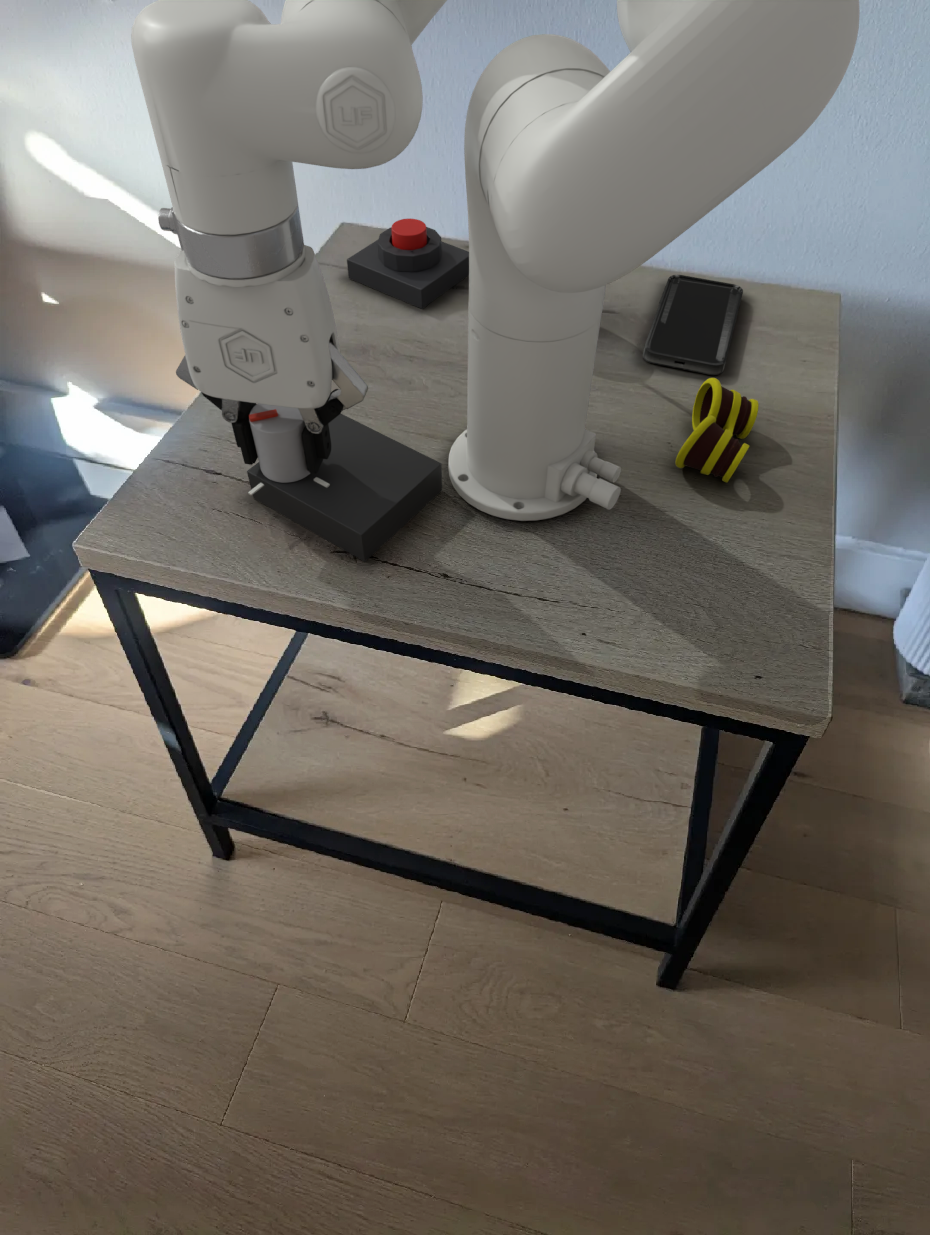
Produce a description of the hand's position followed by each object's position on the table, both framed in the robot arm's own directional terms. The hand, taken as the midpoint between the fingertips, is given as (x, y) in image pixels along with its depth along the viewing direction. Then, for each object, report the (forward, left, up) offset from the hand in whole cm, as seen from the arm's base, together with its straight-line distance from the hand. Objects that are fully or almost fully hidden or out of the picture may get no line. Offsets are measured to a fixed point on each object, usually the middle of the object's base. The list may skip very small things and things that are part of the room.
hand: (286, 455), depth 69 cm
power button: (+13, -33, 0) cm, 35 cm away
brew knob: (0, 0, -1) cm, 1 cm away
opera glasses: (-26, -25, -4) cm, 36 cm away
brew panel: (-3, -2, -4) cm, 5 cm away
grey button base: (+13, -32, -4) cm, 35 cm away
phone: (-16, -41, -4) cm, 45 cm away
